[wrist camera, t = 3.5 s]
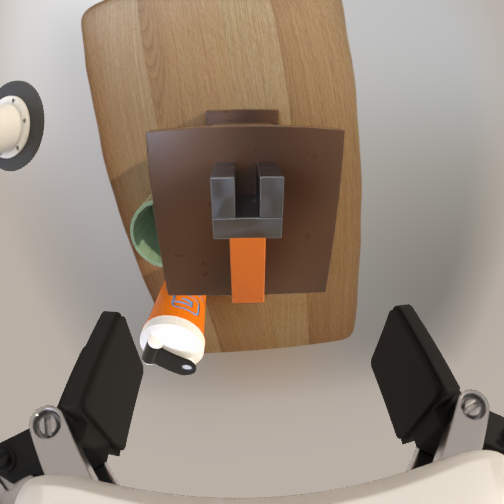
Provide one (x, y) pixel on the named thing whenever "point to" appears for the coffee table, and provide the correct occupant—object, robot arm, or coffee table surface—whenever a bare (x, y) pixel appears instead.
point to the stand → (245, 155)
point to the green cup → (146, 233)
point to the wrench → (247, 224)
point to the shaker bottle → (175, 332)
